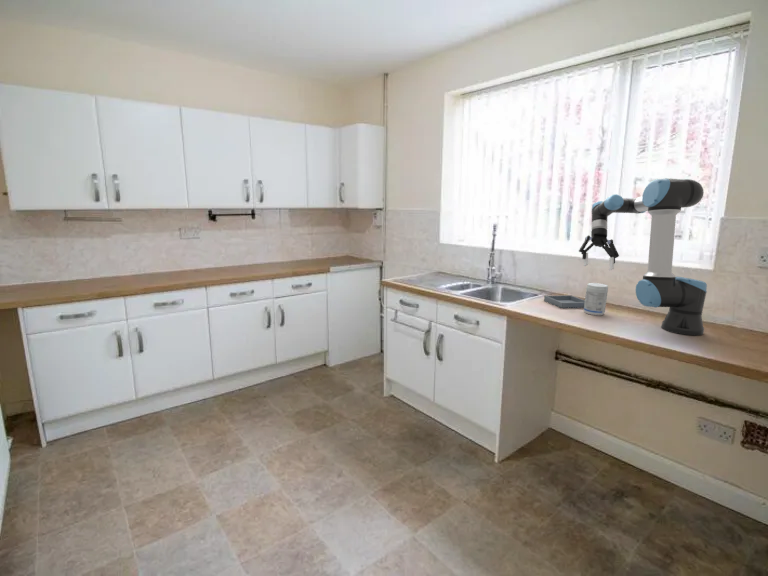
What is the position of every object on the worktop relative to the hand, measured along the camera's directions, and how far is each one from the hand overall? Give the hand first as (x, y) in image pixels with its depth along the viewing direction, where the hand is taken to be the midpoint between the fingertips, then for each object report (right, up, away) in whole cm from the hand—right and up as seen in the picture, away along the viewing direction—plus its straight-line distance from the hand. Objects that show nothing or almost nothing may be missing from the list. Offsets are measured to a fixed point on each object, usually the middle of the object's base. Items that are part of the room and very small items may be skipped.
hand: (598, 267), depth 214 cm
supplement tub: (-6, -24, -8) cm, 26 cm away
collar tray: (-12, -20, +10) cm, 25 cm away
